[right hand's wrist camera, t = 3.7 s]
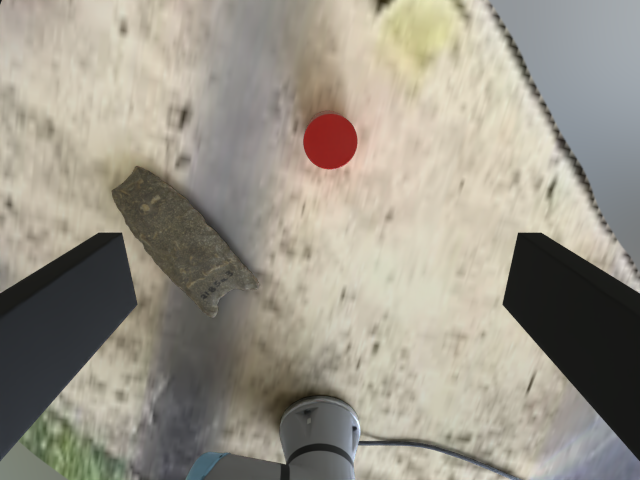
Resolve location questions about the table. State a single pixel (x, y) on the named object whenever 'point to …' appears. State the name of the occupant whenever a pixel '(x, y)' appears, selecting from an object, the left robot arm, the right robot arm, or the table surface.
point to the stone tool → (181, 240)
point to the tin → (330, 140)
